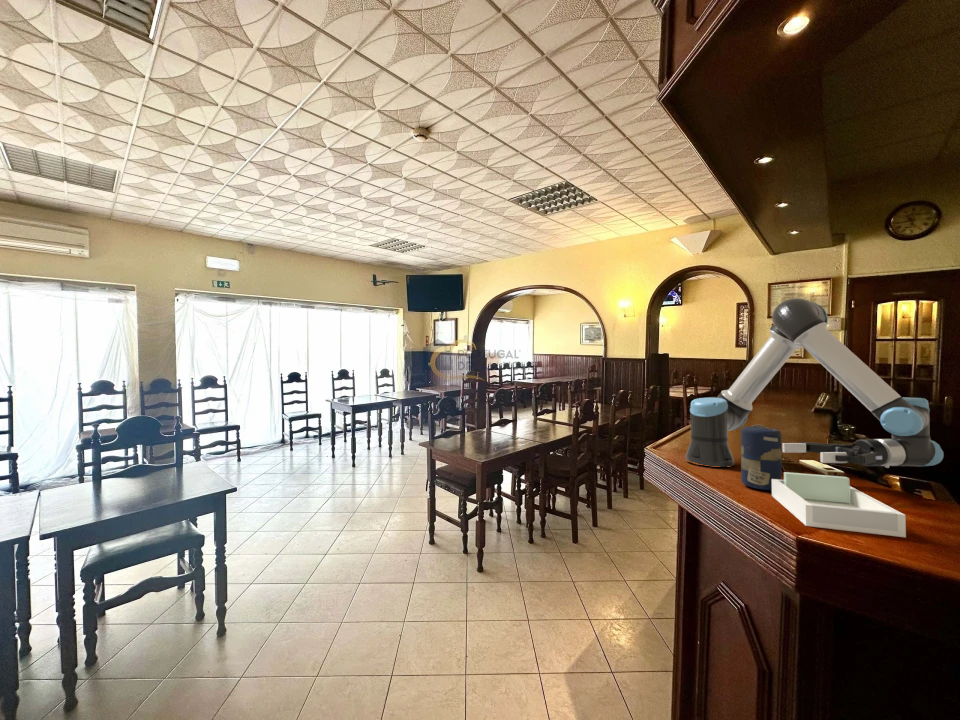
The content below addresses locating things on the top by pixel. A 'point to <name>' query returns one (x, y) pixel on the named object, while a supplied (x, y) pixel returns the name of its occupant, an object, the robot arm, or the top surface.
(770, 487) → the dark blue canister
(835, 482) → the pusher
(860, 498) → the white tray
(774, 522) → the top surface
